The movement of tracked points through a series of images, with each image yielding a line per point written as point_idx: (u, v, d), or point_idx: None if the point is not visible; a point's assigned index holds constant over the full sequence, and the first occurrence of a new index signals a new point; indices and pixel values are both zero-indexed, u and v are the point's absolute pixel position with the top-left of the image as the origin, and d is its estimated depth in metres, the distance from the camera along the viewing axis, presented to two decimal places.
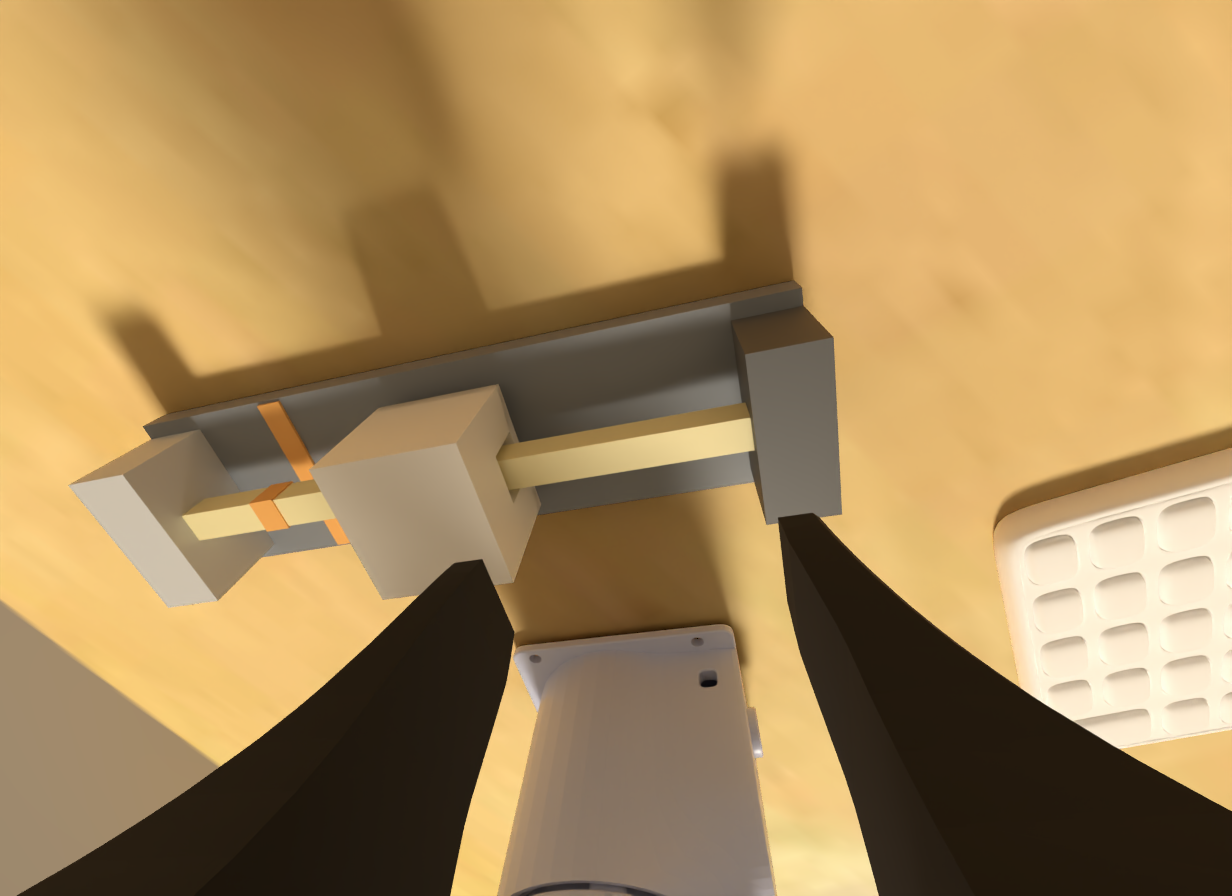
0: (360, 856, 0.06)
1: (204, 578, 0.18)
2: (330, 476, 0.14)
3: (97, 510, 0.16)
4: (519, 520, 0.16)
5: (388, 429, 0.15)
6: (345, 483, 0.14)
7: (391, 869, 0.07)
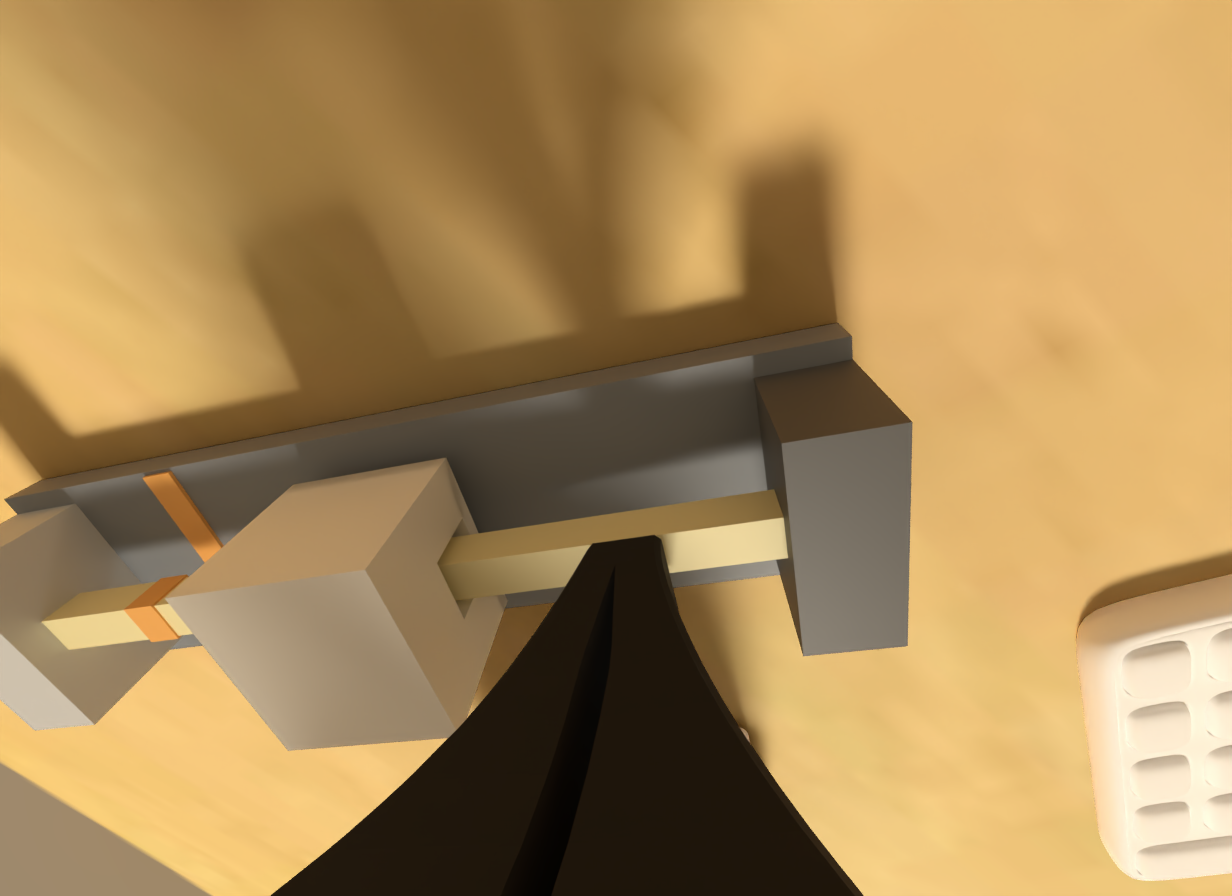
0: None
1: (75, 698, 0.14)
2: (196, 607, 0.10)
3: None
4: (473, 639, 0.12)
5: (290, 528, 0.11)
6: (218, 615, 0.10)
7: None
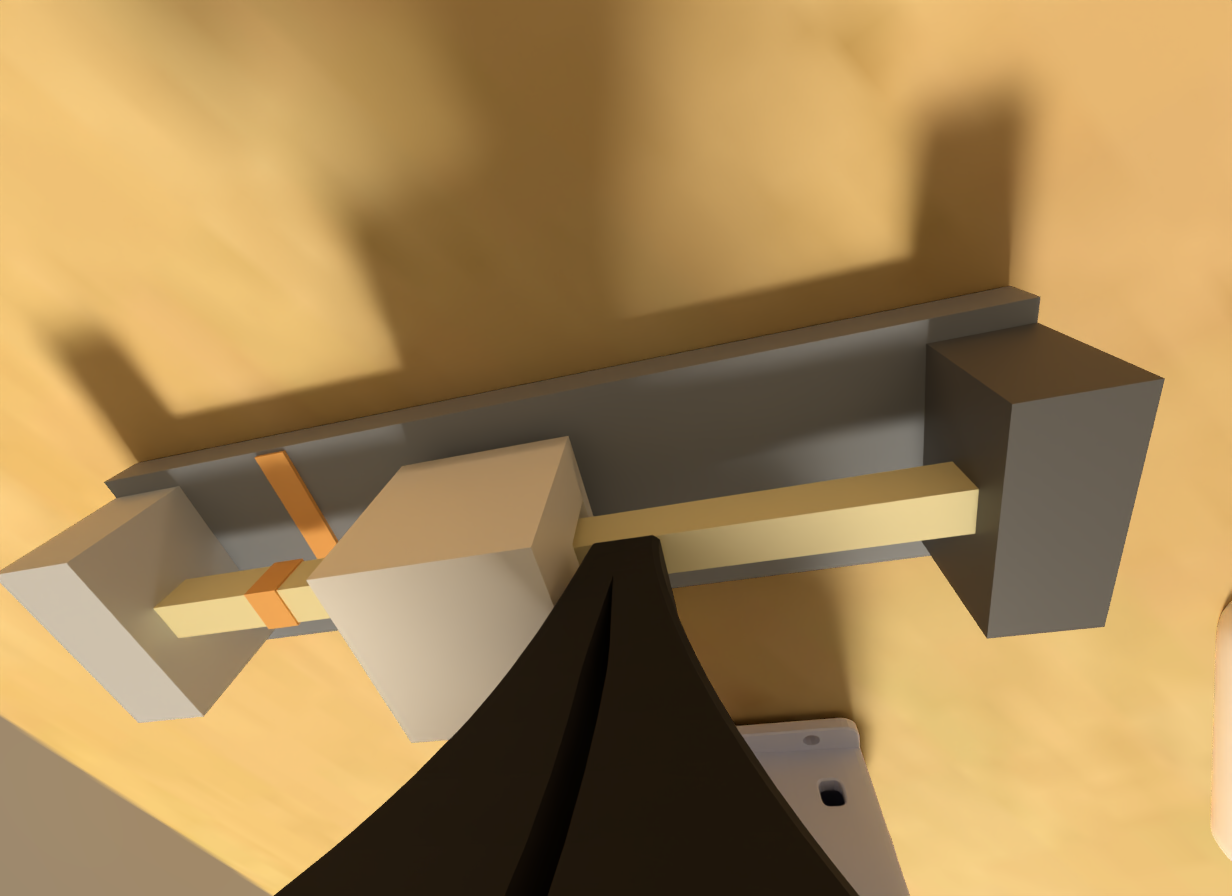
0: None
1: (185, 689, 0.13)
2: (338, 589, 0.09)
3: (36, 606, 0.12)
4: None
5: (420, 508, 0.10)
6: (360, 598, 0.09)
7: None
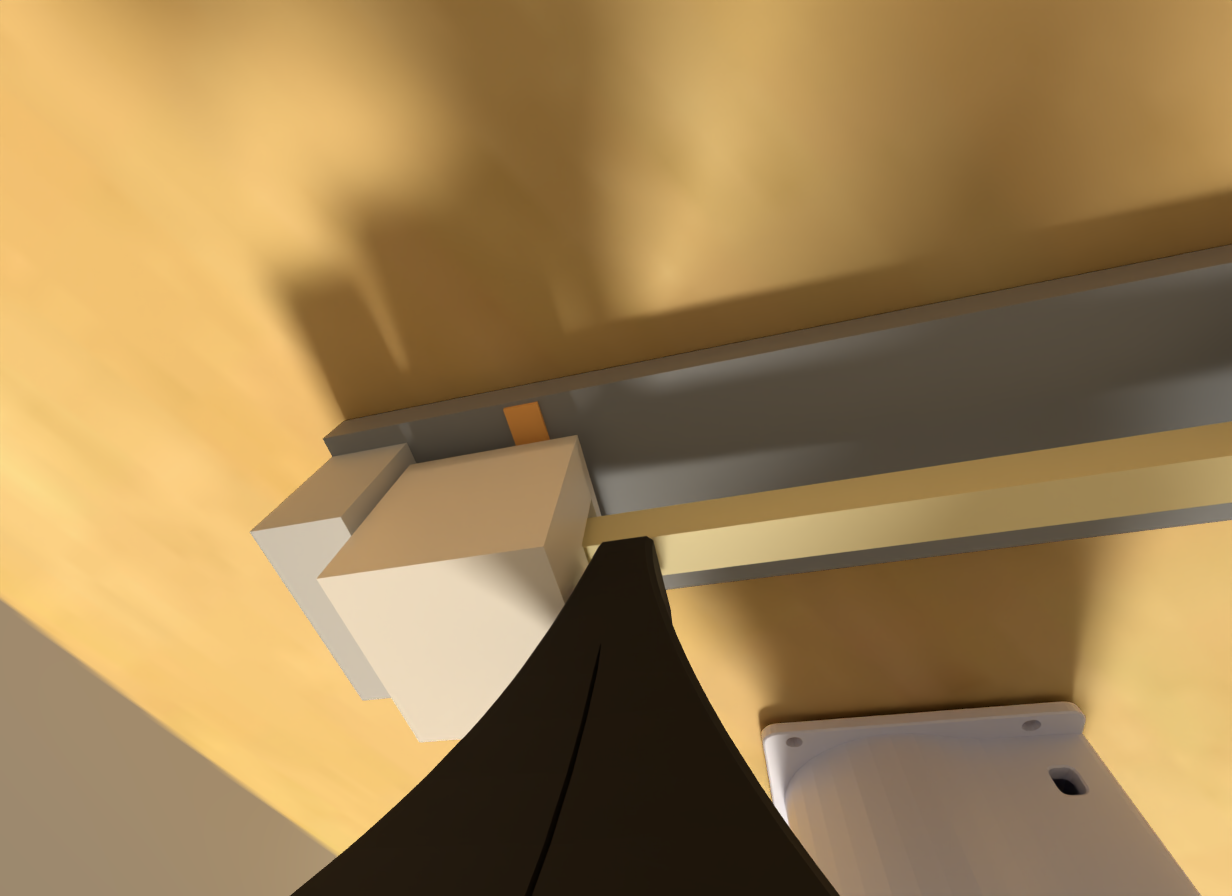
0: None
1: None
2: (348, 588, 0.09)
3: (288, 568, 0.11)
4: None
5: (429, 507, 0.10)
6: (371, 597, 0.09)
7: None
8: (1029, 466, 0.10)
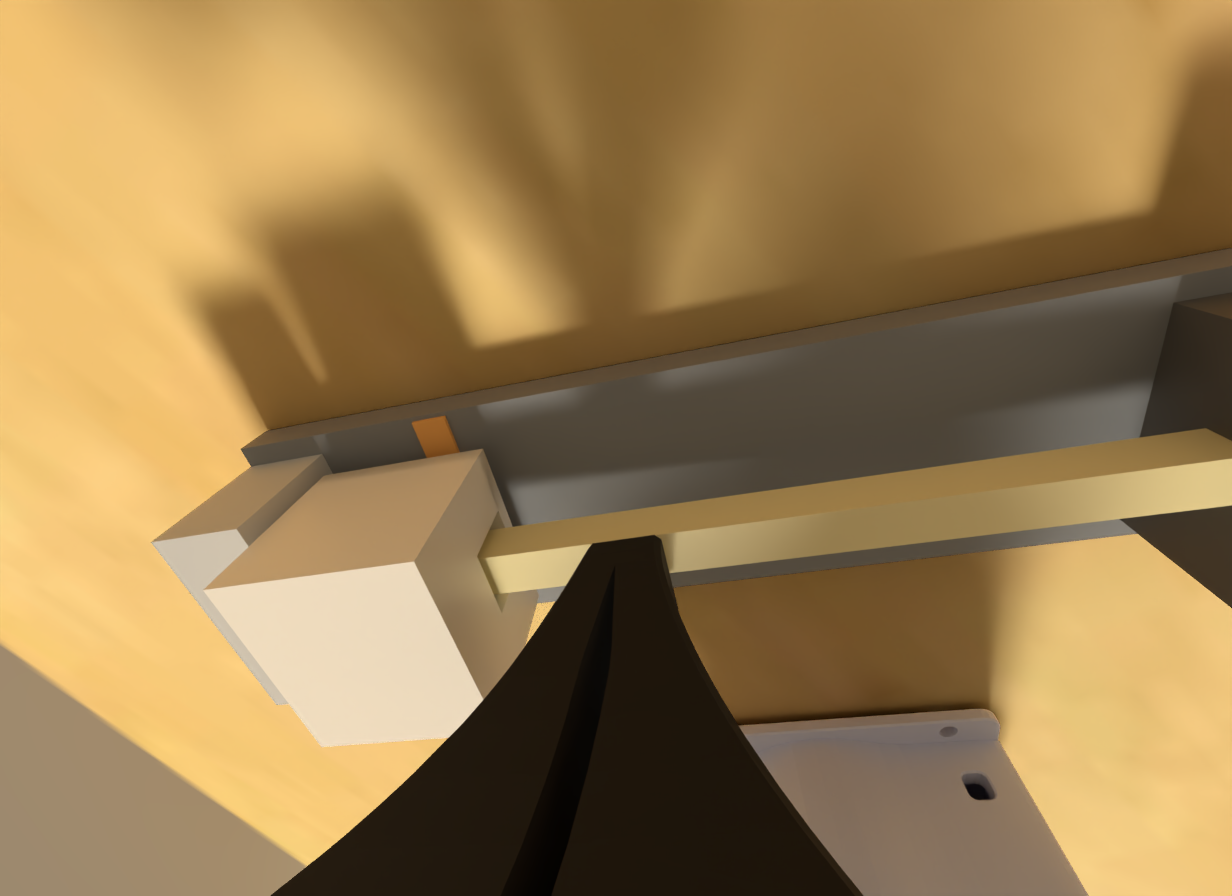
0: None
1: None
2: (235, 599, 0.09)
3: (192, 577, 0.11)
4: (510, 634, 0.12)
5: (327, 519, 0.11)
6: (257, 608, 0.09)
7: None
8: (901, 485, 0.10)
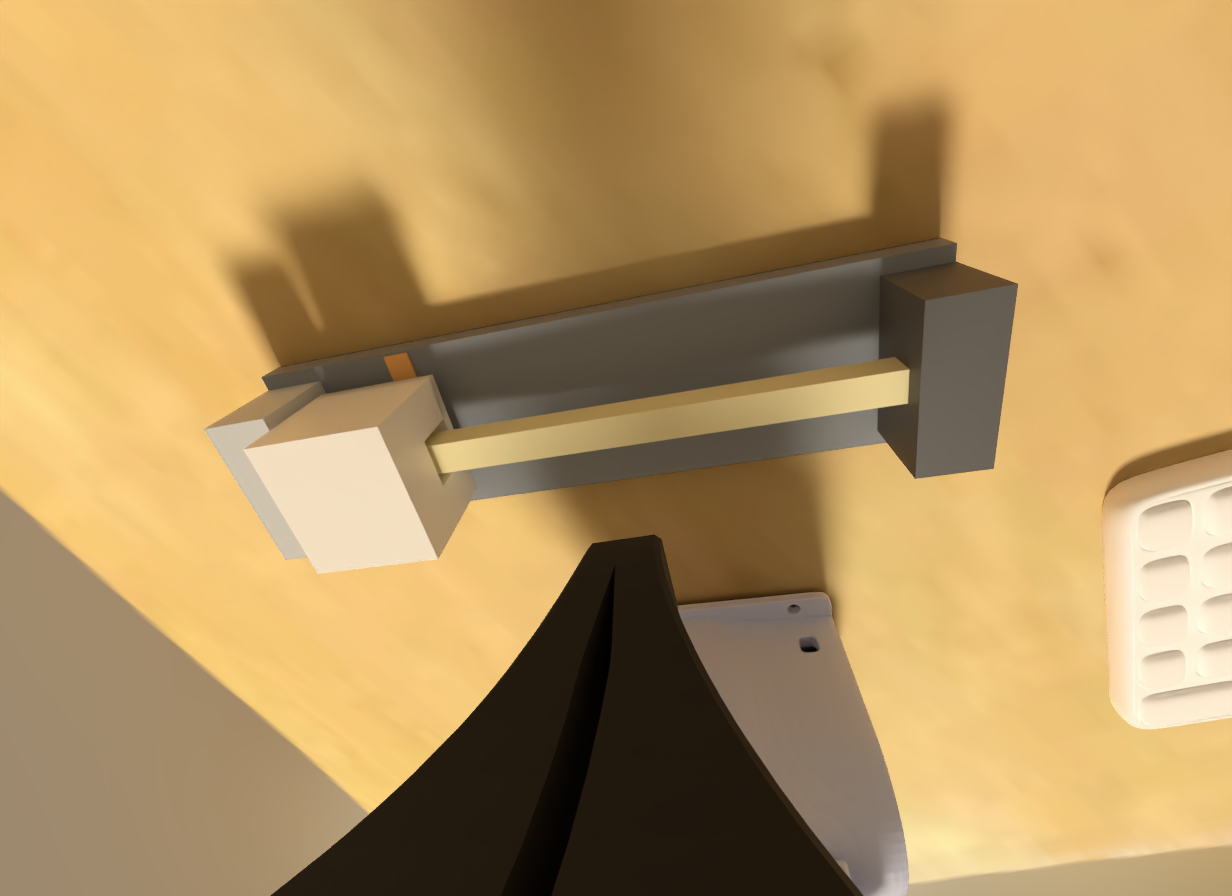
0: None
1: None
2: (263, 456, 0.15)
3: (230, 455, 0.16)
4: (449, 502, 0.17)
5: (323, 414, 0.16)
6: (277, 462, 0.15)
7: None
8: (704, 394, 0.16)
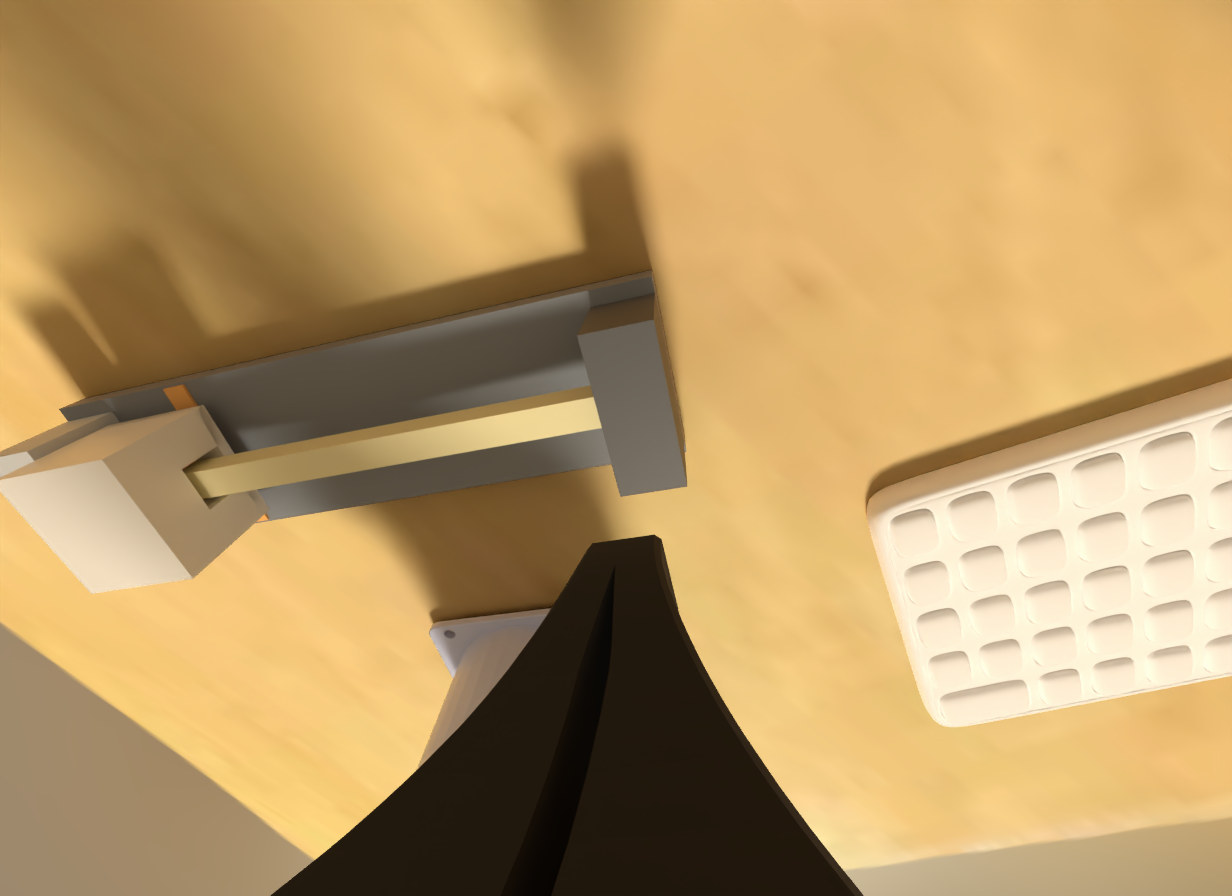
0: None
1: None
2: (11, 487, 0.16)
3: None
4: (218, 524, 0.18)
5: (84, 445, 0.17)
6: (25, 493, 0.16)
7: None
8: (432, 421, 0.17)
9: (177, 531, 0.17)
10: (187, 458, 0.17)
